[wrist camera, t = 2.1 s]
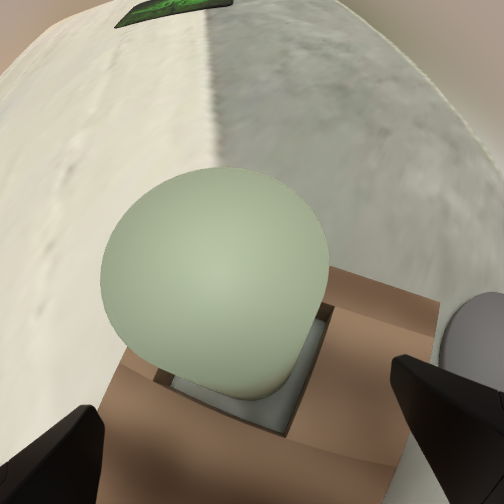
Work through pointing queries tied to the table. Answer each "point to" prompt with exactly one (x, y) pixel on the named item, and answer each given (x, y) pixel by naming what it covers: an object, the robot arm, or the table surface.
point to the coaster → (476, 341)
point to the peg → (217, 279)
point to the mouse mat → (167, 9)
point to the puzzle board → (268, 441)
